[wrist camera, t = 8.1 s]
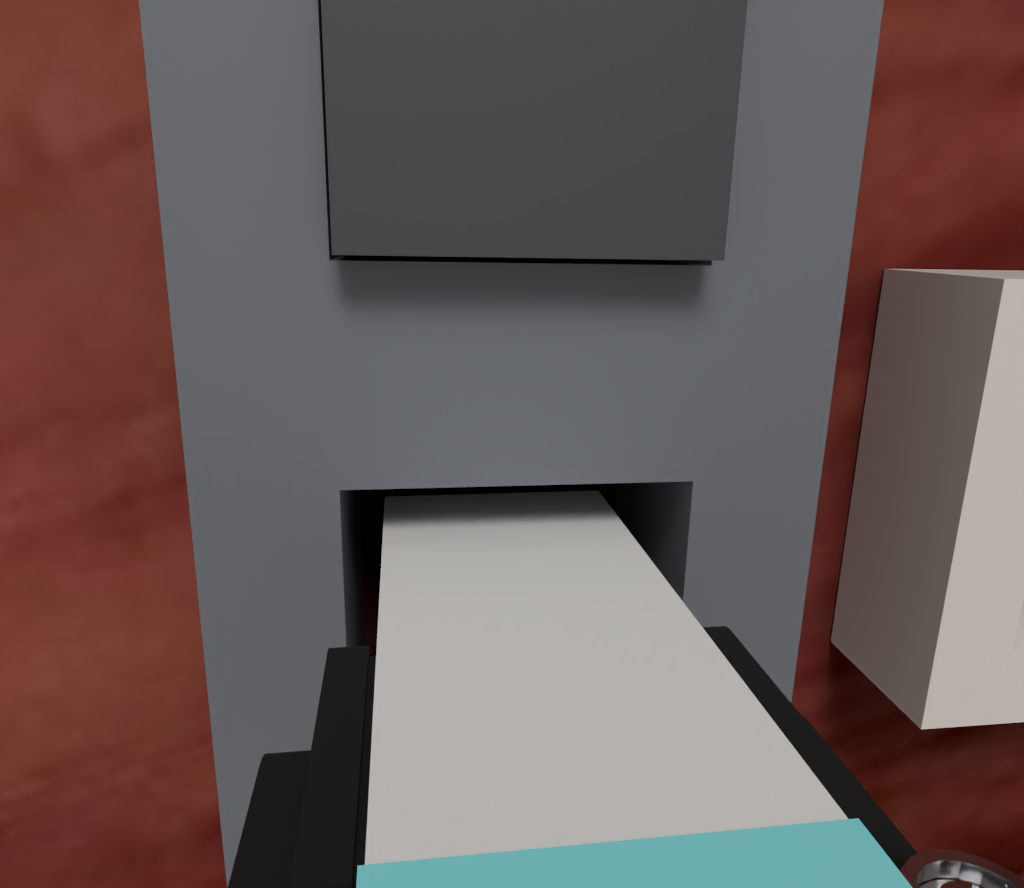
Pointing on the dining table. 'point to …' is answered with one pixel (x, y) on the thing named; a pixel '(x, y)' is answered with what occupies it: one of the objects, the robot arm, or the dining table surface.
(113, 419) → the dining table surface
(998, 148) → the dining table surface
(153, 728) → the dining table surface
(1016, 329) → the holster
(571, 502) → the plug
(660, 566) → the grey rectangular block
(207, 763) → the dining table surface
